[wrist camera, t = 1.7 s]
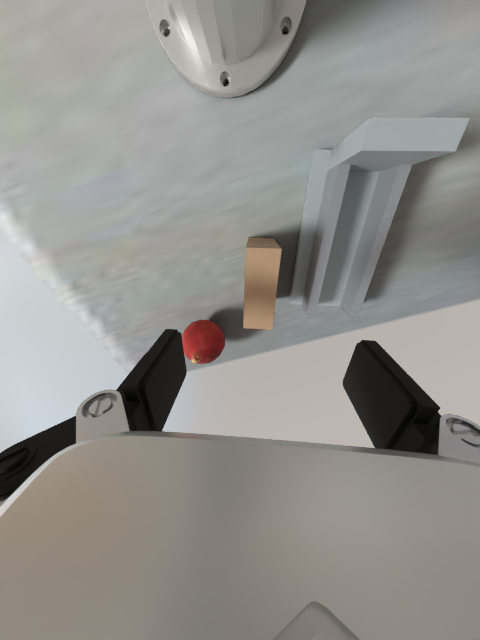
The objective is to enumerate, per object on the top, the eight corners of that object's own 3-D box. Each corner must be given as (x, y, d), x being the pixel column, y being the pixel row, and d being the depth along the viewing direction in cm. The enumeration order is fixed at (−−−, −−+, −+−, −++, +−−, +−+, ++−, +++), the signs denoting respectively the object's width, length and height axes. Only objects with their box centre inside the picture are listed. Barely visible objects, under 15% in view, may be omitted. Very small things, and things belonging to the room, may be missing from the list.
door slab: (248, 237, 23) (246, 247, 16) (273, 238, 23) (281, 248, 16) (246, 298, 27) (243, 328, 20) (267, 299, 27) (272, 329, 20)
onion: (233, 319, 29) (226, 353, 22) (220, 347, 32) (210, 385, 25) (196, 304, 28) (177, 334, 21) (186, 334, 31) (166, 370, 24)
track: (312, 152, 19) (345, 117, 12) (406, 153, 19) (495, 117, 12) (289, 301, 27) (301, 331, 20) (355, 304, 27) (391, 336, 20)
